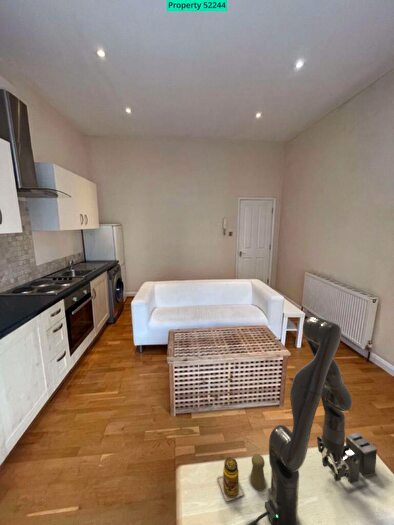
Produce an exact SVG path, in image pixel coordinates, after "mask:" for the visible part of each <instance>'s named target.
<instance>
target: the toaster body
mask: <svg viewBox="0 0 394 525" xmlns="http://www.w3.org/2000/svg"><path fill="white" fill-rule="evenodd" d="M346 445H350V446H351V450H352V451H353V452H354V453H355V454H357V453H358V454H359V455H360V467H359V475H361V476H362V477H366V476H368V475H371V474H373V473H375V472H376V465H377V453H378V448H377V446H375V445H374V444H373V443H371V442H370V441H369V440H368V439H367V438H366V437H365V436H364V435H362V434H361V433H360V432H359V431H356V432H353V433H350V434H345V446H346Z"/></svg>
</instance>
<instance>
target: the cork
mask: <svg viewBox="0 0 394 525" xmlns="http://www.w3.org/2000/svg"><path fill="white" fill-rule="evenodd" d="M251 464H252V466H251V473H250V481H249V482H250V485H251V486H252V487H253V488H254V489H255V490H263V489H264V488H266V487H265V486H266V479H265V478H266V477H265V471H264V467H265V459H264V457H263V455H261V454H260V453H254V454H253V455H252V457H251Z"/></svg>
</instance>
